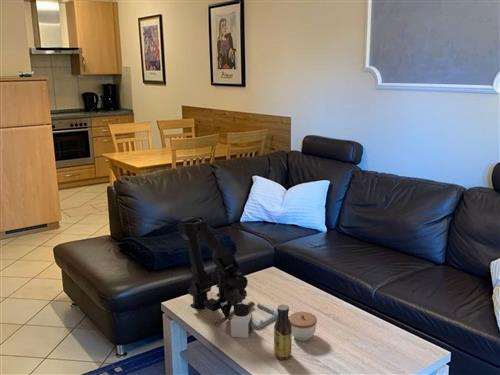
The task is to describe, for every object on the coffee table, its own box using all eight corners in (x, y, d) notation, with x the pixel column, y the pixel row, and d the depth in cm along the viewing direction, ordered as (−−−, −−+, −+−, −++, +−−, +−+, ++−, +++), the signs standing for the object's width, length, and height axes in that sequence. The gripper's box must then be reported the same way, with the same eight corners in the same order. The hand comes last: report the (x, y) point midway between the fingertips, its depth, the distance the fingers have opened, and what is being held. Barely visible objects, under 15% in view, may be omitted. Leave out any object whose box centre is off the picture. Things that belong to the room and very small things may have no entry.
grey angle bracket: (235, 318, 203) (235, 312, 202) (258, 306, 213) (258, 300, 212) (257, 329, 194) (257, 323, 194) (280, 315, 204) (280, 310, 203)
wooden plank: (227, 318, 203) (227, 313, 202) (251, 305, 212) (251, 301, 212) (229, 318, 202) (229, 314, 201) (253, 306, 212) (252, 301, 211)
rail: (214, 323, 199) (214, 322, 199) (253, 303, 215) (253, 302, 214) (215, 324, 199) (215, 322, 198) (254, 304, 214) (254, 302, 214)
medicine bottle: (249, 338, 188) (248, 310, 185) (231, 336, 189) (230, 308, 186) (252, 328, 195) (252, 301, 192) (235, 327, 196) (234, 300, 193)
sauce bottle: (273, 351, 179) (272, 302, 174) (289, 350, 180) (290, 301, 175) (275, 362, 173) (275, 311, 168) (292, 361, 173) (293, 310, 168)
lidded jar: (319, 331, 192) (319, 309, 189) (313, 346, 182) (313, 323, 180) (292, 327, 195) (292, 305, 193) (285, 341, 186) (285, 319, 183)
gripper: (221, 296, 186) (222, 333, 190) (255, 281, 198) (256, 315, 202) (202, 287, 193) (204, 323, 197) (237, 273, 206) (237, 306, 210)
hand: (226, 317), depth 201 cm, fingers closed
